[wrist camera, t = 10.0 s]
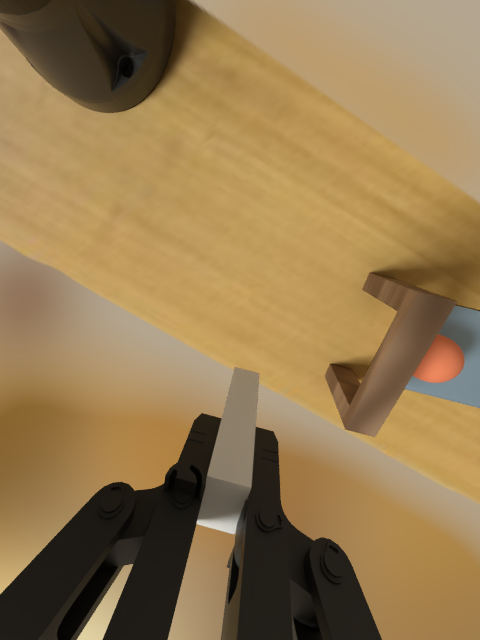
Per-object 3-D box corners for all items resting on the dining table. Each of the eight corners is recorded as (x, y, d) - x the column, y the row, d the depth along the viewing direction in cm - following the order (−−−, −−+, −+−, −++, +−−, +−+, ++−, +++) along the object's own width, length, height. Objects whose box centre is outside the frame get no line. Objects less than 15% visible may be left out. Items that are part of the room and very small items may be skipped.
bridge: (324, 376, 31) (345, 429, 23) (369, 272, 26) (418, 292, 18) (346, 381, 31) (374, 437, 23) (395, 279, 26) (457, 301, 17)
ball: (455, 347, 22) (489, 353, 23) (405, 322, 26) (436, 328, 28) (423, 392, 24) (456, 394, 25) (381, 361, 28) (412, 364, 30)
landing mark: (446, 303, 26) (447, 303, 26) (552, 328, 26) (554, 329, 26) (397, 386, 31) (398, 387, 30) (487, 409, 30) (488, 410, 30)
